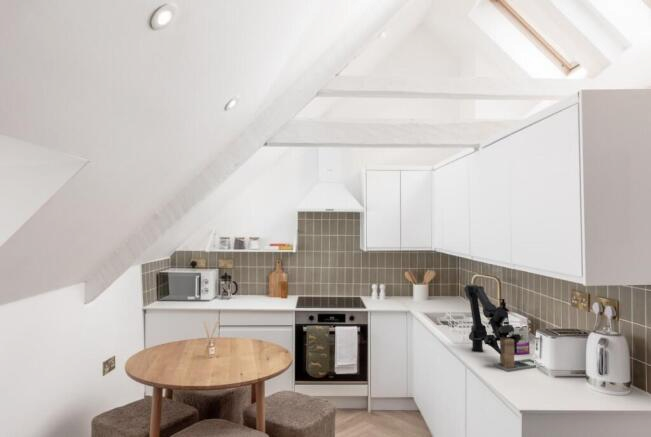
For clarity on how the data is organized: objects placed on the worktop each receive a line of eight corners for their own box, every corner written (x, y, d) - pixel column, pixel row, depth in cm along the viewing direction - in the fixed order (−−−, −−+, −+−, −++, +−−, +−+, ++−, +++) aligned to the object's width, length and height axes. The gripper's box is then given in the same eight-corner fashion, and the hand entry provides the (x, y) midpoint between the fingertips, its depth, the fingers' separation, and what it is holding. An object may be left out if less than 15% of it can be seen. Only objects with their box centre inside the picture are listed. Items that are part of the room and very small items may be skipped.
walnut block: (500, 366, 224) (500, 337, 225) (509, 366, 225) (508, 337, 225) (505, 369, 219) (505, 340, 220) (514, 369, 220) (514, 340, 220)
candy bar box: (523, 351, 253) (523, 323, 253) (529, 353, 248) (529, 325, 248) (507, 352, 250) (507, 325, 250) (513, 355, 245) (513, 326, 245)
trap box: (507, 372, 216) (507, 369, 216) (493, 366, 225) (493, 363, 225) (544, 367, 225) (544, 364, 225) (529, 361, 234) (529, 358, 234)
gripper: (486, 319, 225) (497, 346, 214) (519, 318, 228) (531, 345, 216) (479, 330, 233) (489, 357, 222) (511, 330, 235) (522, 356, 224)
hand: (508, 353), depth 221 cm, fingers open, 8 cm apart
